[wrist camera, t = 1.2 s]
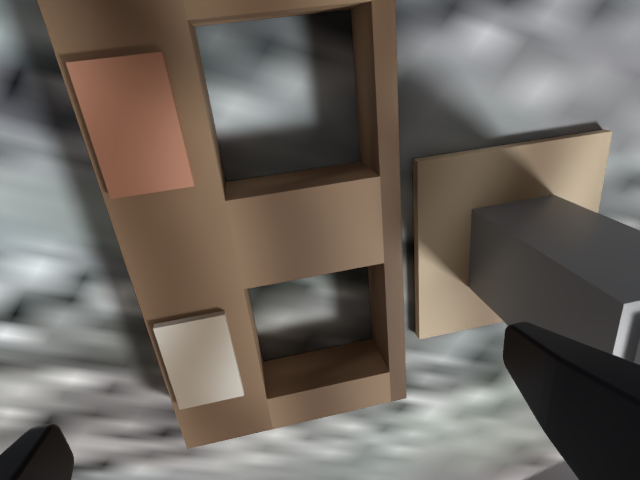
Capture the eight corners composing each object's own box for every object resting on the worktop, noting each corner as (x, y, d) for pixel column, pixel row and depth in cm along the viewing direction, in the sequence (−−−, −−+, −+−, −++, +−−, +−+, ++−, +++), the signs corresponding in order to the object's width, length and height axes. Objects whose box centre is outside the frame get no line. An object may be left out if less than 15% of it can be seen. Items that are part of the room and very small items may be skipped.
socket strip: (367, -51, 14) (396, -74, 12) (388, 362, 22) (408, 402, 19) (59, -24, 13) (18, -44, 11) (192, 405, 20) (186, 454, 18)
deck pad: (603, 129, 19) (612, 131, 18) (574, 299, 23) (581, 304, 22) (412, 159, 18) (417, 161, 17) (415, 333, 21) (419, 339, 21)
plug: (553, 194, 19) (774, 287, 11) (543, 271, 21) (730, 398, 13) (471, 208, 19) (643, 316, 11) (468, 287, 20) (615, 428, 12)
